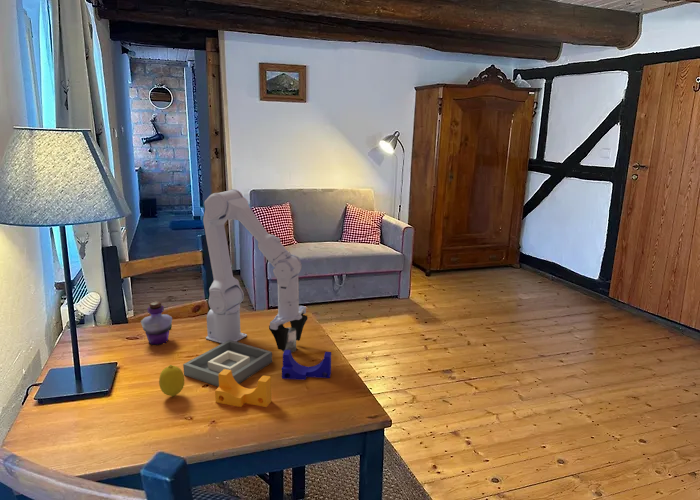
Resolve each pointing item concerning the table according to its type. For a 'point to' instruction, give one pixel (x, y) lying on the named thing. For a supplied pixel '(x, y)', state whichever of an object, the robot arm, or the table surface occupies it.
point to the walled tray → (228, 362)
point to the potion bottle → (157, 324)
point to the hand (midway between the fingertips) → (289, 344)
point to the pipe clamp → (242, 391)
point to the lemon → (171, 380)
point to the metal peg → (291, 340)
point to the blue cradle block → (305, 368)
